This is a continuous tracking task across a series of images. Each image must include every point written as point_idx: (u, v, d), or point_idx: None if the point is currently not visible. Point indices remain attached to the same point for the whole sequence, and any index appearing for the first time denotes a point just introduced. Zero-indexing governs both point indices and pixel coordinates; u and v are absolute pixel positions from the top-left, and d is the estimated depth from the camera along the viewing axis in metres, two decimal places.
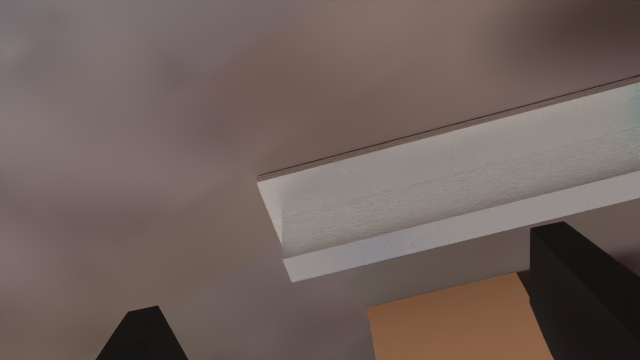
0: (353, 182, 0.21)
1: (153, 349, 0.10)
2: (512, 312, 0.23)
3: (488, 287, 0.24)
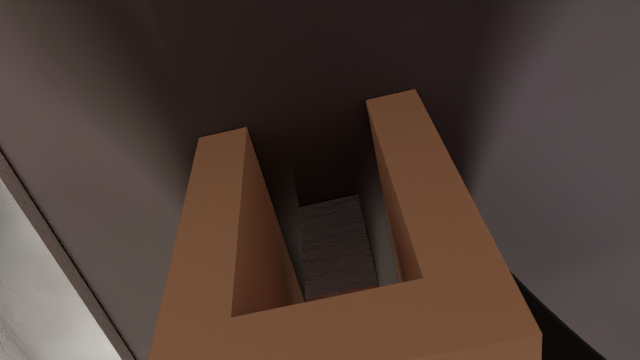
0: None
1: None
2: None
3: None
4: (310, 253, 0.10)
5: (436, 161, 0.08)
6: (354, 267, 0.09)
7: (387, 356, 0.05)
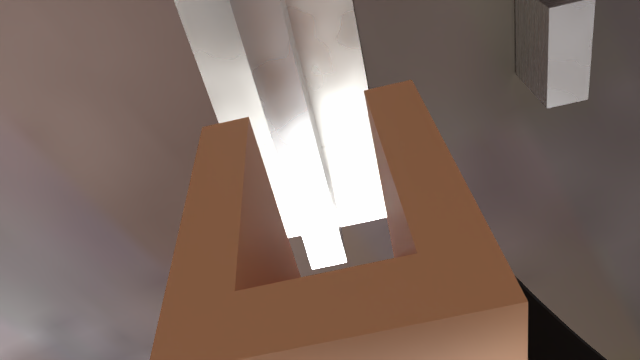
0: (266, 161, 0.19)
1: None
2: None
3: None
4: None
5: (431, 146, 0.08)
6: None
7: (382, 323, 0.06)
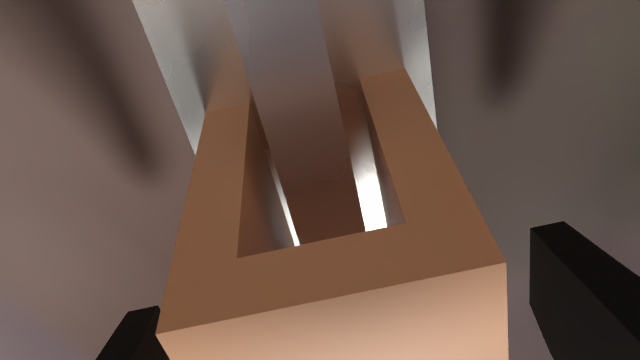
0: None
1: (153, 349, 0.10)
2: None
3: None
4: None
5: (421, 128, 0.09)
6: None
7: (373, 284, 0.06)
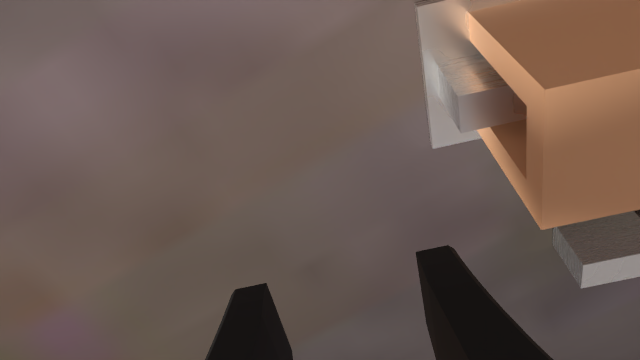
0: None
1: (268, 326, 0.09)
2: None
3: None
4: None
5: None
6: None
7: None
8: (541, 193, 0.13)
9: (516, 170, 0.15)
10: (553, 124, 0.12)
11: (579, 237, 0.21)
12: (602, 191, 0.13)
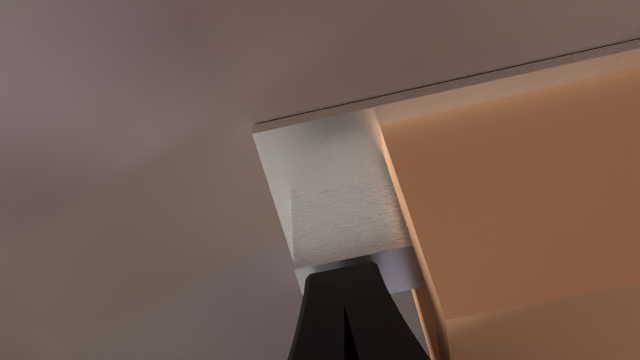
0: None
1: None
2: None
3: None
4: None
5: None
6: None
7: None
8: None
9: None
10: None
11: None
12: None
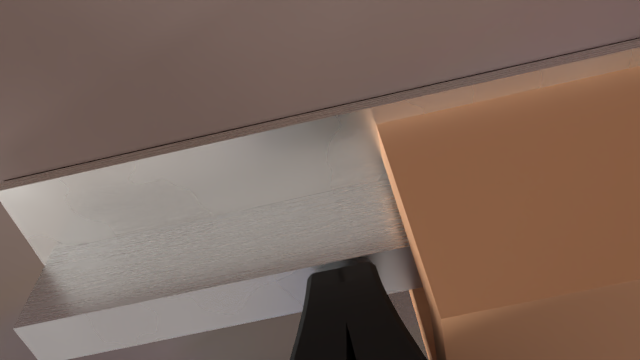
0: (164, 198, 0.12)
1: None
2: None
3: None
4: None
5: None
6: None
7: None
8: None
9: None
10: (460, 359, 0.08)
11: None
12: None
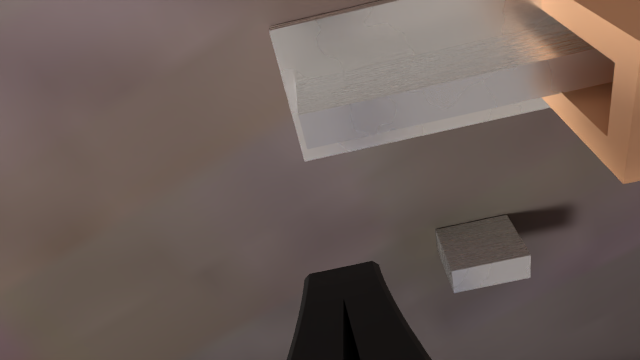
0: (383, 39, 0.17)
1: None
2: None
3: None
4: None
5: None
6: None
7: None
8: (627, 147, 0.14)
9: (593, 130, 0.16)
10: None
11: (454, 244, 0.22)
12: None
